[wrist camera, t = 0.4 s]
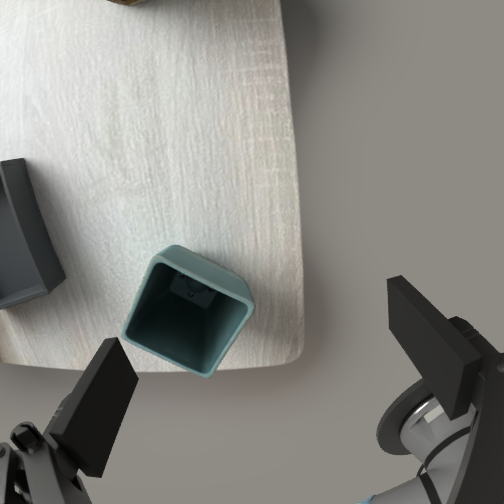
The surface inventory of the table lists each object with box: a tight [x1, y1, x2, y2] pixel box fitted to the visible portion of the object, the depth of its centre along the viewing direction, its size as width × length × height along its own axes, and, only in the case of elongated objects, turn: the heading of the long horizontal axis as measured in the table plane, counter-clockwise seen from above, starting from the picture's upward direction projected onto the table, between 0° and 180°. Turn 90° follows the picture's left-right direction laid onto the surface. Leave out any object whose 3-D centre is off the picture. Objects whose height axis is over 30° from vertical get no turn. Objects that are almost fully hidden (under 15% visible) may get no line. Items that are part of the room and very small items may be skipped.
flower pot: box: [121, 245, 255, 378], centre depth 29 cm, size 9×9×9 cm
